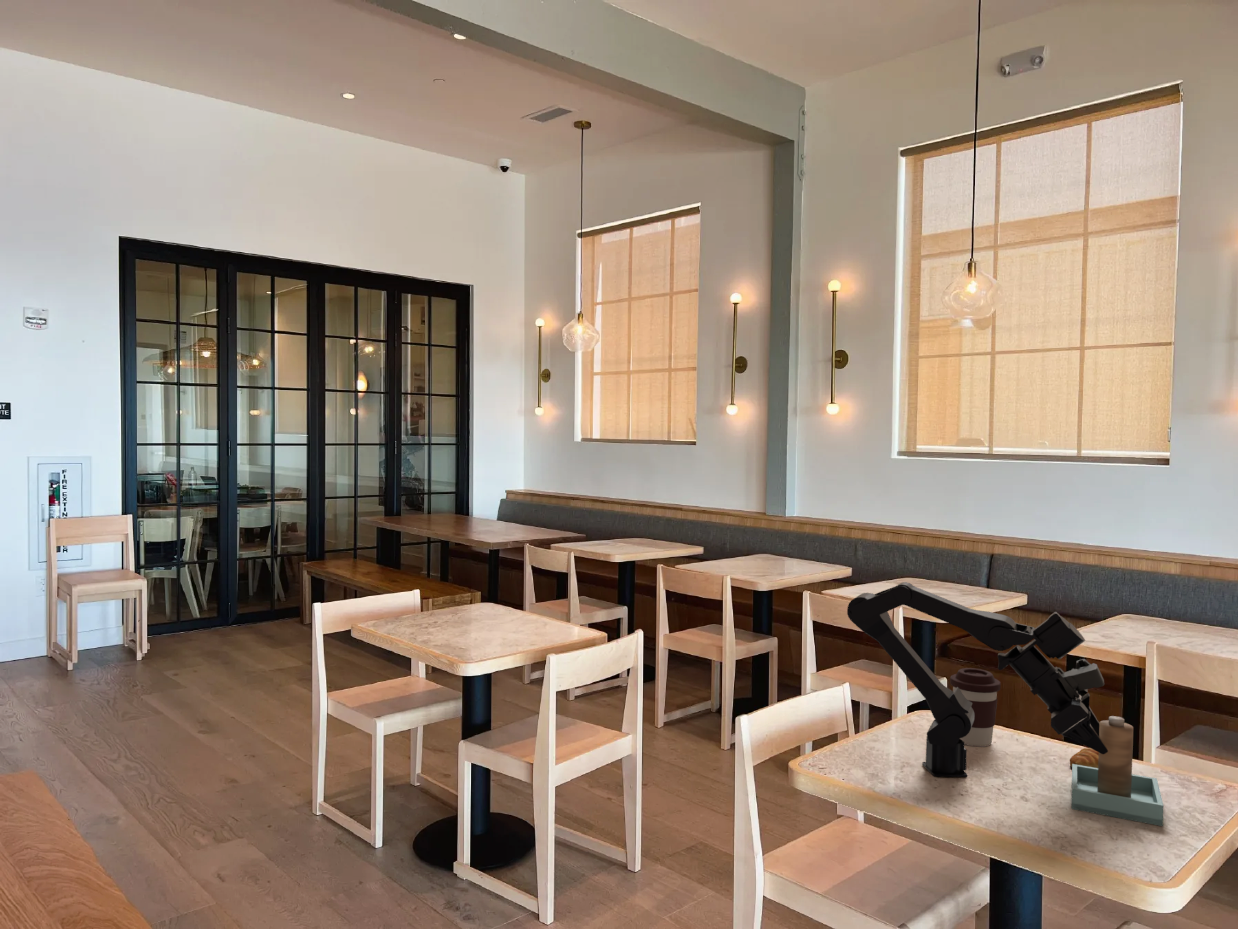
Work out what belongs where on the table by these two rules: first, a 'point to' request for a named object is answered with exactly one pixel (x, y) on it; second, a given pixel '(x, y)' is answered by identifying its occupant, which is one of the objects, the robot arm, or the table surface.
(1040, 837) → the table surface
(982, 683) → the coffee cup
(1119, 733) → the pepper mill
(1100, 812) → the tray
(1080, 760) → the pastry
